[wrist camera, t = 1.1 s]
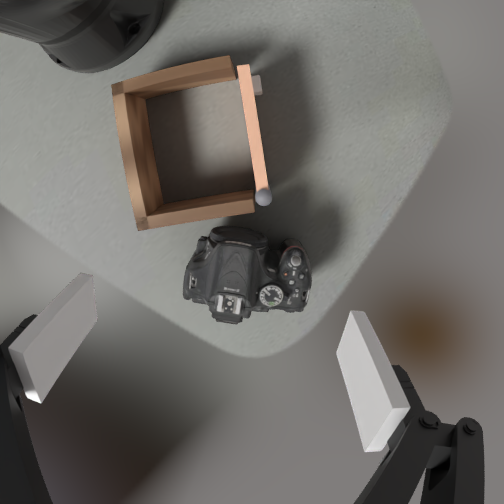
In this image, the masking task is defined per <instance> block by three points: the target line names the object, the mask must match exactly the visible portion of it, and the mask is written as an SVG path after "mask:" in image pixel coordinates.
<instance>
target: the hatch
mask: <svg viewBox="0 0 504 504" xmlns="http://www.w3.org/2000/svg"><path fill="white" fill-rule="evenodd" d="M237 70H238V76H239V82H240V88H241V94H242V101H243V107H244V113H245V119H246V125H247V132H248V138H249V144H250V151H251V157H252V163H253V170H254V176H255V183H256V194H255V199H256V202H257V203H258V204H259V205H261V206H266V205H268V204H270V203H271V201H272V194H271V189H270V185H269V182H268V181H267V175H266V168H265V161H264V155H263V148H262V142H261V135H260V129H259V122H258V116H257V110H256V104H255V97H254V96H255V95H262V86H261V80H260V75H255V76H251V73H250V67H249V64H247V65H240V66H237Z"/></svg>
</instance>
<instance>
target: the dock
mask: <svg viewBox="0 0 504 504" xmlns="http://www.w3.org/2000/svg"><path fill="white" fill-rule="evenodd" d="M230 80H236V75H235V69H234V66H233V63H232V61H231V58H230V55H227V56H222V57H216V58H211V59H206V60H201V61H196V62H192V63H187V64H183V65H179V66H174V67H170V68H166V69H163V70H159V71H155V72H151V73H148V74H144V75H141V76H138V77H134V78H131V79H128V80H125V81H121V82H118V83H115V84H112V85H111V87H112V95H113V103H114V110H115V116H116V123H117V129H118V135H119V141H120V147H121V153H122V158H123V163H124V169H125V174H126V179H127V184H128V189H129V193H130V198H131V202H132V207H133V211H134V216H135V220H136V224H137V228H138V231H141V230H146V229H152V228H158V227H164V226H170V225H176V224H182V223H188V222H194V221H200V220H207V219H213V218H220V217H226V216H233V215H240V214H246V213H253V212H255V195H254V189H251V190H244V191H238V192H231V193H225V194H219V195H213V196H206V197H201V198H195V199H189V200H183V201H178V202H172V203H167V204H164V202H163V197H162V192H161V187H160V182H159V177H158V172H157V166H156V161H155V155H154V150H153V144H152V138H151V133H150V126H149V120H148V114H147V107H146V101H145V99H148V98H152V97H156V96H159V95H163V94H167V93H172V92H176V91H180V90H184V89H189V88H194V87H198V86H203V85H208V84H214V83H219V82H225V81H230Z"/></svg>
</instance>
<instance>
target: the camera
mask: <svg viewBox="0 0 504 504" xmlns="http://www.w3.org/2000/svg"><path fill="white" fill-rule="evenodd" d="M311 283H312V277H311V267H310V261H309V258H308V256H307V253H306V251H305V250H304V248H303V247H302V245H301V244H300V242H299V241H297V240H295V239H287V240H285V241H284V242H283V243H282V245H281V247H280V249H279V250H278V251H274V250H269V245H268V238H267V237H266V236H265V235H264V234H262V233H259V232H257V231H254V230H251V229H246V228H240V227H233V226H220V227H216V228H214V229H212V230H211V233H210V236H209V237H208V238H207V237H204V236H201V238H200V239H199V240H198V244H197V250H196V251H195V252H194V254H193V256H192V258H191V260H190V261H189V263H188V265H187V267H186V271H185V276H184V283H183V297H184V298H185V299H186V300H189V299H191V298H192V301H193V302H195V303H201V304H207V305H209V311H211V312H212V317H213V318H215V319H216V321H217V322H224V323H231V324H238V323H239V322H242V319H243V318H249V317H250V315H251V311H256V312H268V311H269V309H270V310H271V309H280V310H284V311H286V312H290V313H291V312H295V311H297V312H301V311H303V309H304V307H305V306H306V304H307V301H308V297H309V292H310V288H311Z"/></svg>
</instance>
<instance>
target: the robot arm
mask: <svg viewBox="0 0 504 504" xmlns="http://www.w3.org/2000/svg"><path fill="white" fill-rule="evenodd" d="M162 9H163V0H0V32H1V33H5V34H8V35H12V36H15V37H19V38H22V39H26V40H29V41H33V42H36V43H39V45H40V46H41V47H42V48H43V49H44V51H45V52H46V53H47V54H48V55H49V57H50V58H51V59H52V60H53V61H54V62H55V63H57V64H58V65H60V66H61V67H63V68H66V69H69V70H73V71H76V72H81V73H95V72H100V71H104V70H107V69H110V68H112V67H114V66H116V65H118V64H120V63H122V62H123V61H125V60H126V59H128V58H129V57H131V56H132V55H133V54H134V53H135V52H137V51H138V50H139V49H140V48H141V47H142V46H143V45H144V44H145V42H146V41H147V40H148V39H149V37H150V36H151V34H152V33H153V31H154V30H155V28H156V26H157V24H158V22H159V19H160V17H161V13H162ZM97 320H98V318H97V311H96V302H95V292H94V281H93V275H90V274H85V273H80V274H79V275H78V276H77V277H76V278H75V279H74V280H73V281H72V282H70V284H68V285H67V286H66V287H65V289H63V290H62V291H61V292H60V293H59V294H58V295H57V296H56V297H55V298H54V299H53V300H52V302H50V303H49V304H48V305H47V307H46V308H45V309H44V310H43V311H42V312H41V313H40V314H39V315H34V314H33V315H32V316H30V317H28V318H26V319H24V320H23V321H22V322H21V324H20V325H19V327H17V328H16V329H15V330H14V332H12V333H11V334H10V335H9V336H8V337H7V338H6V339H5V341H4V342H3V343H2V344H1V345H0V504H53V502H52V500H51V497H50V495H49V492H48V489H47V487H46V484H45V481H44V479H43V476H42V473H41V470H40V467H39V464H38V461H37V458H36V454H35V451H34V448H33V444H32V440H31V437H30V433H29V429H28V425H27V421H26V417H25V413H24V408H23V403H22V399H21V397H20V392H21V391H22V390H23V389H24V391H25V393H26V395H27V398H29V399H31V400H34V401H37V402H39V403H42V402H43V400H44V398H45V397H46V395H47V393H48V392H49V390H50V389H51V387H52V386H53V384H54V383H55V381H56V380H57V378H58V377H59V375H60V374H61V372H62V370H63V369H64V367H65V366H66V364H67V363H68V361H69V360H70V358H71V357H72V356H73V354H74V353H75V351H76V350H77V348H78V347H79V345H80V344H81V342H82V341H83V340H84V338H85V337H86V335H87V334H88V332H89V331H90V330H91V328H92V327H93V326H94V324H95V323H96V321H97ZM336 354H337V357H338V360H339V364H340V367H341V370H342V373H343V377H344V380H345V384H346V387H347V390H348V394H349V398H350V401H351V404H352V408H353V412H354V415H355V418H356V422H357V426H358V429H359V433H360V437H361V440H362V444H363V448H364V452H371V451H381V450H382V449H383V447H384V446H385V445H386V443H388V445H389V449H390V450H389V451H388V453H387V454H386V455H385V456H384V458H383V459H382V460H381V462H380V465H379V467H378V469H377V470H376V472H375V473H374V475H373V476H372V478H371V479H370V481H369V482H368V484H367V485H366V487H365V488H364V490H363V491H362V493H361V494H360V495H359V497H358V498H357V500H356V501H355V502H354V504H408V503H409V501H410V499H411V497H412V495H413V493H414V491H415V489H416V487H417V485H418V483H419V480H420V478H421V476H422V474H423V472H424V470H425V468H426V473H425V480H424V486H423V491H422V497H421V502H420V504H484V445H483V431H482V427H481V426H480V424H479V423H478V422H477V421H475V420H474V419H472V418H467V417H465V418H462V419H460V420H459V422H458V423H457V424H456V425H451V424H445V423H441V421H440V419H439V418H438V417H437V416H436V415H435V414H433V413H432V412H429V411H425V409H424V406H423V404H422V402H421V400H420V398H419V396H418V394H417V392H416V390H415V389H414V386H413V384H412V382H411V380H410V378H409V376H408V374H407V372H405V370H404V369H402V368H401V367H400V366H399V365H391V364H390V362H389V360H388V358H387V356H386V354H385V352H384V350H383V348H382V346H381V344H380V341H379V339H378V337H377V335H376V333H375V332H374V330H373V327H372V326H371V324H370V322H369V320H368V318H367V316H366V314H365V312H362V311H350V314H349V318H348V320H347V323H346V326H345V329H344V332H343V335H342V338H341V341H340V344H339V347H338V349H337V352H336Z"/></svg>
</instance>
